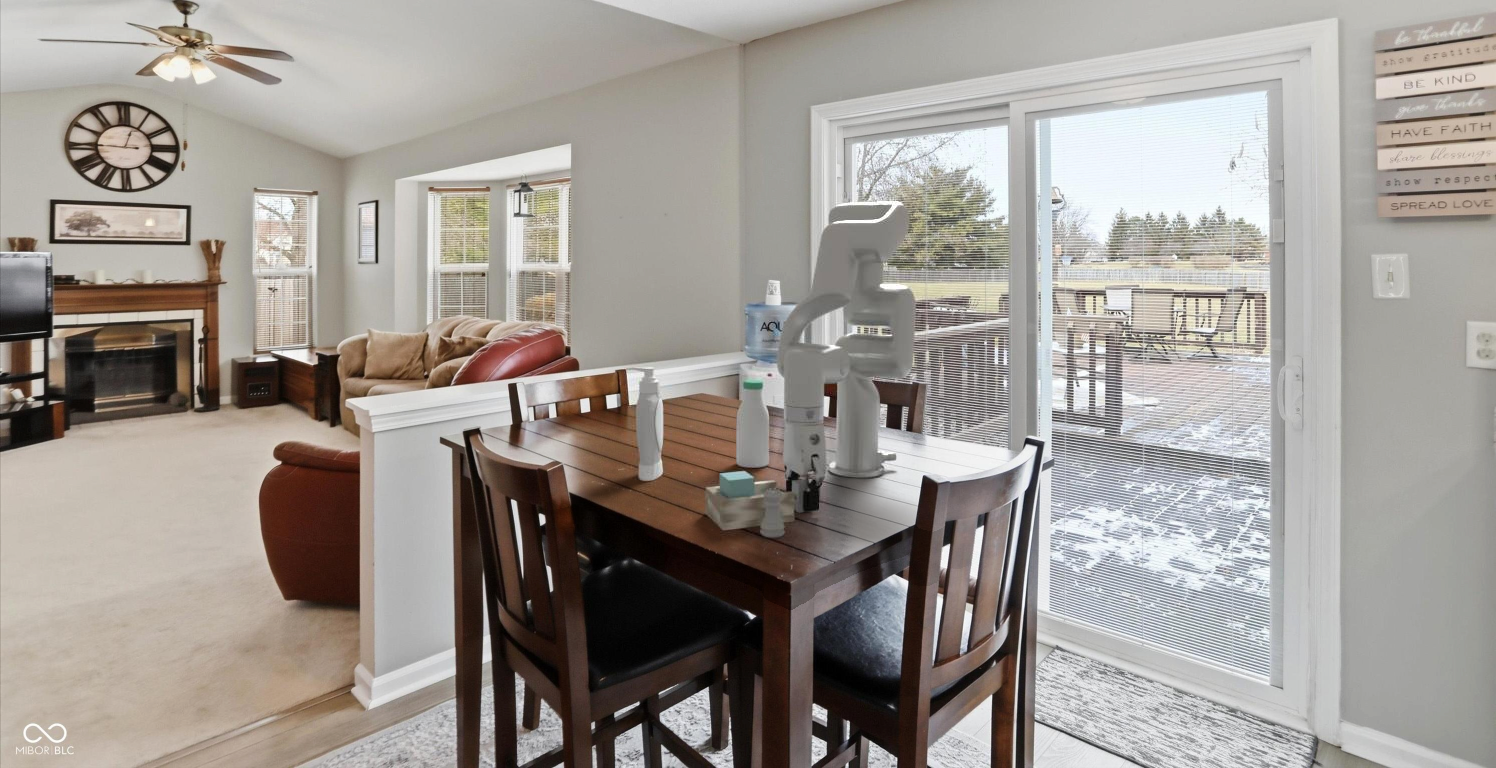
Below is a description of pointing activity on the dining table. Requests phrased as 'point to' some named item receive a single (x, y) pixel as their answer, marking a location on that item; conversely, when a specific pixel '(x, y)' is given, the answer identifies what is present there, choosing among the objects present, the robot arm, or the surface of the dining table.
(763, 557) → the dining table surface
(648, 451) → the soap bottle
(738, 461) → the milk bottle
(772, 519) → the rook chess piece
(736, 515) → the beige wooden open box
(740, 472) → the cube dumbbell
